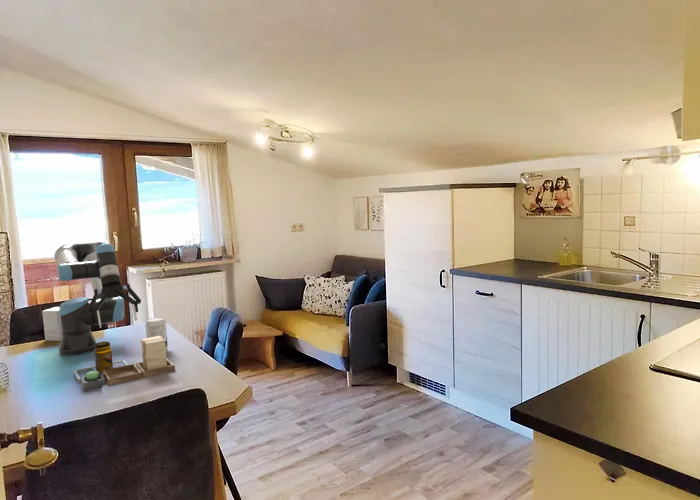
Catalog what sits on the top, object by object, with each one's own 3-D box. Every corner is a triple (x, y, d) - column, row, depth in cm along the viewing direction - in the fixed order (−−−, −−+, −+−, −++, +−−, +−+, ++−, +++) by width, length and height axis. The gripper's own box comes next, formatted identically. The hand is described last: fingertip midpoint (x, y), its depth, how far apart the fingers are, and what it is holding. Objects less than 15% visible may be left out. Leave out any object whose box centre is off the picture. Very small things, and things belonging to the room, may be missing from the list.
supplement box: (74, 335, 254) (71, 306, 252) (60, 341, 245) (57, 311, 243) (59, 335, 256) (56, 306, 254) (44, 340, 247) (41, 310, 245)
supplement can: (143, 355, 220) (141, 321, 218) (157, 349, 228) (155, 316, 226) (158, 356, 217) (155, 322, 215) (172, 350, 224) (169, 317, 223)
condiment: (115, 373, 199) (113, 343, 197) (91, 378, 194) (88, 347, 193) (112, 368, 205) (110, 339, 203) (89, 372, 200) (86, 343, 199)
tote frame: (73, 373, 199) (73, 370, 199) (124, 363, 210) (124, 359, 210) (78, 383, 189) (77, 379, 189) (131, 371, 199) (130, 368, 199)
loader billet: (143, 368, 199) (141, 338, 198) (161, 364, 203) (159, 335, 202) (148, 374, 193) (146, 343, 191) (167, 370, 197) (165, 340, 195)
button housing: (81, 384, 187) (80, 377, 187) (102, 380, 191) (101, 372, 191) (84, 391, 181) (83, 383, 180) (105, 386, 185) (105, 378, 184)
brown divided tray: (102, 378, 193) (101, 370, 193) (166, 364, 207) (166, 356, 206) (108, 388, 183) (107, 380, 182) (175, 373, 196) (175, 365, 196)
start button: (85, 377, 186) (85, 372, 186) (97, 375, 188) (97, 370, 188) (87, 380, 183) (86, 375, 182) (99, 378, 185) (99, 373, 185)
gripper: (76, 278, 209) (84, 326, 201) (141, 268, 221) (150, 313, 213) (78, 286, 215) (85, 332, 207) (140, 276, 227) (150, 319, 219)
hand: (118, 322), depth 210 cm, fingers open, 13 cm apart
